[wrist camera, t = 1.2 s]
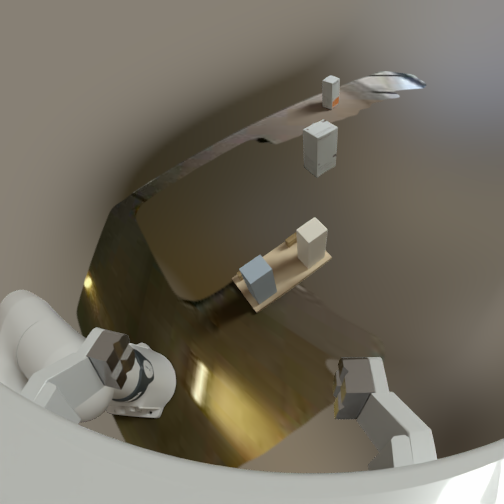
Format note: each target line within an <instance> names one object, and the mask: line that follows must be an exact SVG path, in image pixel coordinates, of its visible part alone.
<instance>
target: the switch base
mask: <svg viewBox="0 0 504 504" xmlns="http://www.w3.org/2000/svg"><path fill="white" fill-rule="evenodd" d="M263 259H264V260H265V261H266V262H267V264H268V265H269V266H270V267H271V268H272V271H273V275H274V280H275V284H276V289H277V292H276V293H275V294H273V295H272V296H271V297H269V298H268V299H266V300H265V301H264V302H262V303H261V304H258V302H257V301H256V300H255V298H254V297H253V296H252V294H251V293H250V292H249V290H248V288H247V285H246V283H245V281H244V279H243V277H242V274H241V272H240V271H239V272H237V275H236V276H234V277H233V278H232V280H233V281H234V283H235V284H236V286H237V287H238V288H239V290H240V291H241V292H242V294H243V295H244V297H245V298H246V299H247V301H248V302H249V303H250V305H251V306H252V307H253V309H254V310H255V311H256V313H258V312H260V311H261V310H263V309H264V308H266V307H267V306H268V305H270V304H271V303H273V302H274V301H275V300H277V299H278V298H280V297H281V296H282V295H284V294H285V293H287V292H288V291H289V290H291V289H292V288H293V287H295V286H296V285H298V284H299V283H300V282H302V281H303V280H304V279H306V278H307V277H308V276H310V275H311V274H312V273H314V272H315V271H316V270H318V269H319V268H320V267H322V266H323V265H324V264H326V263H327V262H328V261H330V260H331V259H332V257H331V256H330V255H329V254H328V253H327V252H326V250H325V257H324V258H323V259H321V260H320V261H319V262H317V263H316V264H315V265H313V266H312V267H311V268H309V269H308V268H307V267H306V266H305V265H304V264H303V263H302V262H301V261H300V259H299V258H298V253H297V234H296V233H294V234H293V235H291V236H290V237H288V238H287V239H286V240H285V242H284V243H283V244H281V245H280V246H278V247H277V248H275V249H274V250H272V251H271V252H269V253H268V254H267V255H265V256H264V257H263Z"/></svg>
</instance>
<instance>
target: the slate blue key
mask: <svg viewBox="0 0 504 504" xmlns="http://www.w3.org/2000/svg"><path fill="white" fill-rule="evenodd" d="M239 270H240V272H241V274H242V277H243V279H244V281H245V283H246V285H247V288H248V290H249V292H250V293H251V294H252V296H253V297H254V298H255V300H256V301H257V302H258V304H261V303H262V302H264V301H265V300H266V299H268V298H269V297H271V296H272V295H273V294H275V293H276V292H277V289H276V284H275V280H274V275H273V271H272V268H271V267H270V266H269V265H268V264H267V262H266V261H265V260H264V259H263V257H262V256H261V255H259V256H257V257H256V258H254V259H253V260H251V261H250V262H249V263H247V264H246V265H244V266H243V267H241V268H240V269H239Z"/></svg>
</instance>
